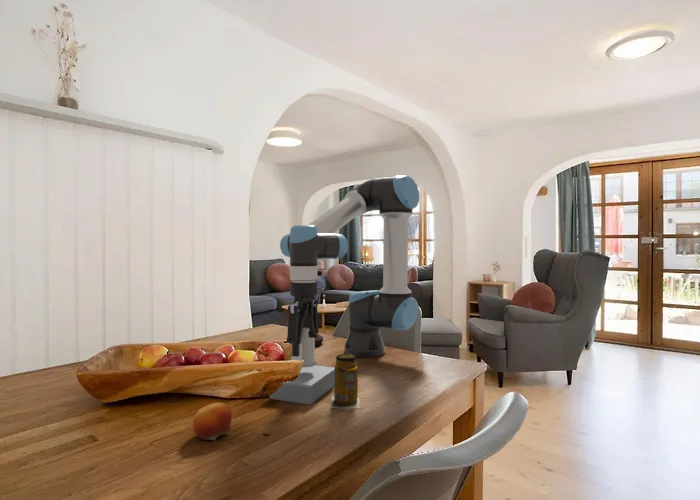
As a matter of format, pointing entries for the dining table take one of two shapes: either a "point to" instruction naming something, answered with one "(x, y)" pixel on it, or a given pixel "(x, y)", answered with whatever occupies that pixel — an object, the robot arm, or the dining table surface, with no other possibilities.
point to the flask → (307, 350)
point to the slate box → (307, 385)
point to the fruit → (212, 421)
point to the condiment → (345, 383)
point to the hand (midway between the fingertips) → (303, 363)
